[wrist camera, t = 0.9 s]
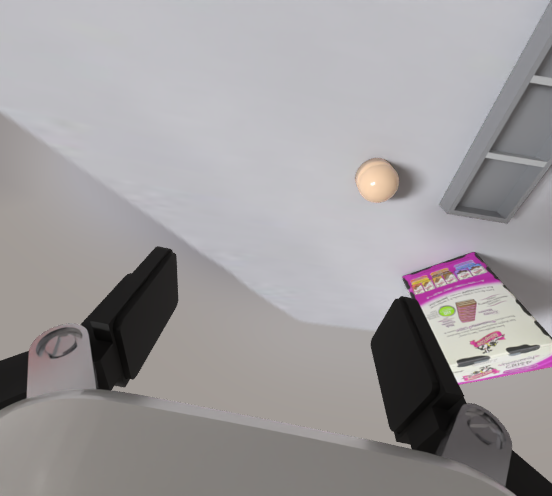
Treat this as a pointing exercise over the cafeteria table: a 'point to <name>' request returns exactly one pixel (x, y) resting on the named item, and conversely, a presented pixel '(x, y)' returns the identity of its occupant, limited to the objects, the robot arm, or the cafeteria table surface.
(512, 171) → the tray
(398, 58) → the cafeteria table surface
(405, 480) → the robot arm
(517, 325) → the candy bar box
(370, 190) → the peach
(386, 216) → the cafeteria table surface
